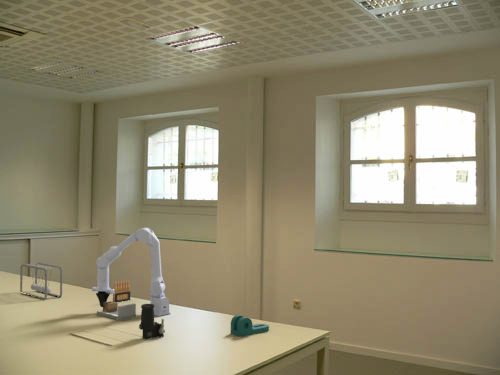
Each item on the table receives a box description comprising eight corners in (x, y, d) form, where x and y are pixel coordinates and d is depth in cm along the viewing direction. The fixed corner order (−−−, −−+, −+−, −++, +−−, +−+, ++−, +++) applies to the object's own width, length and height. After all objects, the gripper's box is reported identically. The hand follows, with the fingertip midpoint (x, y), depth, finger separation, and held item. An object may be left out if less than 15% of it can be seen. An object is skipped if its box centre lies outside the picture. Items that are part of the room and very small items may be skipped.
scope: (165, 304, 225) (145, 308, 218) (165, 337, 225) (145, 341, 217) (154, 301, 230) (134, 305, 223) (153, 333, 230) (134, 338, 223)
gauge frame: (136, 317, 259) (136, 304, 259) (120, 320, 252) (121, 307, 252) (111, 311, 272) (112, 298, 272) (96, 314, 265) (96, 301, 265)
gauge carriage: (117, 310, 266) (117, 301, 266) (106, 312, 261) (106, 303, 261) (111, 309, 269) (111, 300, 269) (100, 311, 264) (100, 302, 264)
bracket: (239, 337, 226) (240, 318, 226) (230, 334, 232) (230, 316, 232) (271, 330, 237) (272, 313, 238) (262, 327, 243) (262, 310, 243)
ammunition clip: (114, 303, 293) (114, 281, 293) (112, 302, 294) (112, 280, 294) (130, 300, 301) (130, 279, 301) (128, 299, 302) (128, 278, 302)
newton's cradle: (19, 293, 317) (20, 263, 317) (36, 291, 325) (36, 262, 325) (45, 300, 298) (45, 268, 298) (62, 297, 306) (62, 267, 306)
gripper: (119, 280, 269) (118, 307, 269) (99, 277, 277) (99, 303, 277) (108, 282, 263) (108, 309, 263) (88, 279, 271) (88, 305, 271)
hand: (102, 306), depth 270 cm, fingers closed
